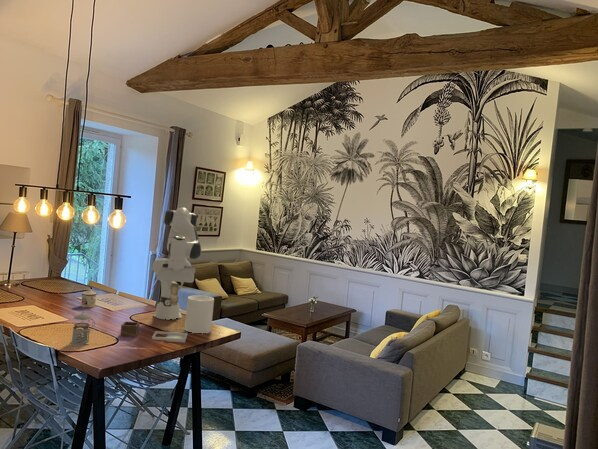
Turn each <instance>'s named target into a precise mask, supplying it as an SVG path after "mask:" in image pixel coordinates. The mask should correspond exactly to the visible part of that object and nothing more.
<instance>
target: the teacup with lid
mask: <svg viewBox="0 0 598 449" xmlns="http://www.w3.org/2000/svg"><path fill="white" fill-rule="evenodd" d="M83 295H86V298H85V299H84V298H83V297H82V296H83ZM96 300H97V293H96V291H93V290H92V288H89V289H87V290H86V291H83V292H82V293H81V304H80V307H81V308H83V305H84V308H86V307H87V309H88V308H94V307H96Z"/></svg>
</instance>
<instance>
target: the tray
mask: <svg viewBox="0 0 598 449" xmlns="http://www.w3.org/2000/svg"><path fill="white" fill-rule="evenodd" d="M188 334H189V333H188V332H177V331H163V330H162V331H160V330H155V331H154V332H153V334H152V336H151V340H154V341H155V340H158V341H164V342H167V343H169V342H170V343H186V341H187V338H188ZM157 335H166V336H164V337H163V336H157Z"/></svg>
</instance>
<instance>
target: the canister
mask: <svg viewBox="0 0 598 449" xmlns="http://www.w3.org/2000/svg"><path fill="white" fill-rule="evenodd" d="M186 301H187V302H186V304H187V305H186V308H185V309H186V312H185V321H184V331H185V330H186V331H189V332H192V333H191V334H193V333H202V334H201V335H204V334H203V333H206V334H210V333H211V331H212V327H213V326H212V323H213V314H214V305H215V304H214V303H215V298H214V297H212V296H209V295H201V294H200V295H199V294H198V295H197V294H195V295H189V296H188V297H187V300H186ZM186 331H185V332H186Z"/></svg>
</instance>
